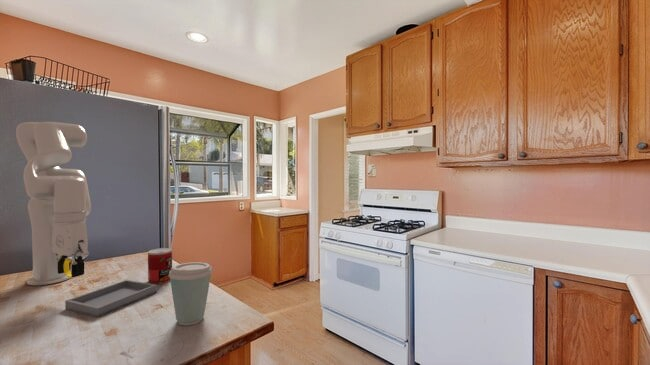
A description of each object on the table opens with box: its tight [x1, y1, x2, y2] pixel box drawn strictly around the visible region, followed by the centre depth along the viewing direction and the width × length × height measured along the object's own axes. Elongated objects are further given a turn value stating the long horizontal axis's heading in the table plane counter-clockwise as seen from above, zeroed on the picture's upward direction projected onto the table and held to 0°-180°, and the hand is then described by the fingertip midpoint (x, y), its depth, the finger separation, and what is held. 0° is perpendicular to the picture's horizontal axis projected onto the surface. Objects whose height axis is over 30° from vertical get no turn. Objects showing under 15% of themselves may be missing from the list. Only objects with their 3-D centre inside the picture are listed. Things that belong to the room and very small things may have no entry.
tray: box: [64, 279, 158, 318], centre depth 90 cm, size 14×18×2 cm
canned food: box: [147, 247, 173, 284], centre depth 107 cm, size 8×8×11 cm
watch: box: [63, 256, 78, 279], centre depth 91 cm, size 6×3×6 cm, turn 65°
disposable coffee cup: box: [169, 261, 213, 326], centre depth 77 cm, size 11×11×15 cm
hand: (71, 273), depth 91 cm, fingers closed on watch, 6 cm apart
